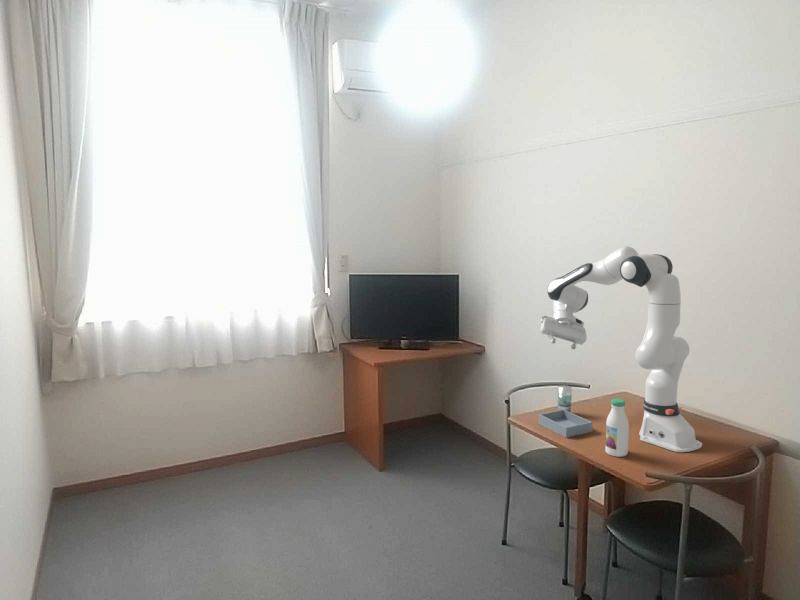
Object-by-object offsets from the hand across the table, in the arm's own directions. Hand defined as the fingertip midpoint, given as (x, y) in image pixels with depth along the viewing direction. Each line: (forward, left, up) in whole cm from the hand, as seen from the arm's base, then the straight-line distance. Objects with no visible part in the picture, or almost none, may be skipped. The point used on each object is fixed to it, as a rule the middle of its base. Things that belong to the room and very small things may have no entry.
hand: (563, 345), depth 241 cm
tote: (-14, +11, -31) cm, 35 cm away
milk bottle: (-42, +11, -31) cm, 53 cm away
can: (-1, 0, -31) cm, 31 cm away
